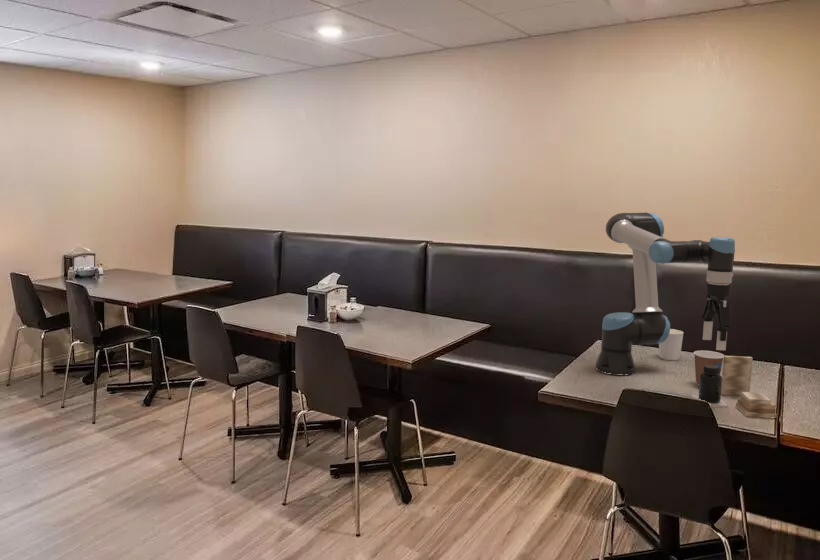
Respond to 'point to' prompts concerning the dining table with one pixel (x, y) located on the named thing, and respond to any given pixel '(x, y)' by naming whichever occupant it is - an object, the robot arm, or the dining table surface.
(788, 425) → the dining table surface
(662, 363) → the dining table surface
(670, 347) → the white paper cup
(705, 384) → the supplement bottle
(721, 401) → the grey pad
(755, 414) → the set of wooden blocks
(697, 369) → the coffee cup
